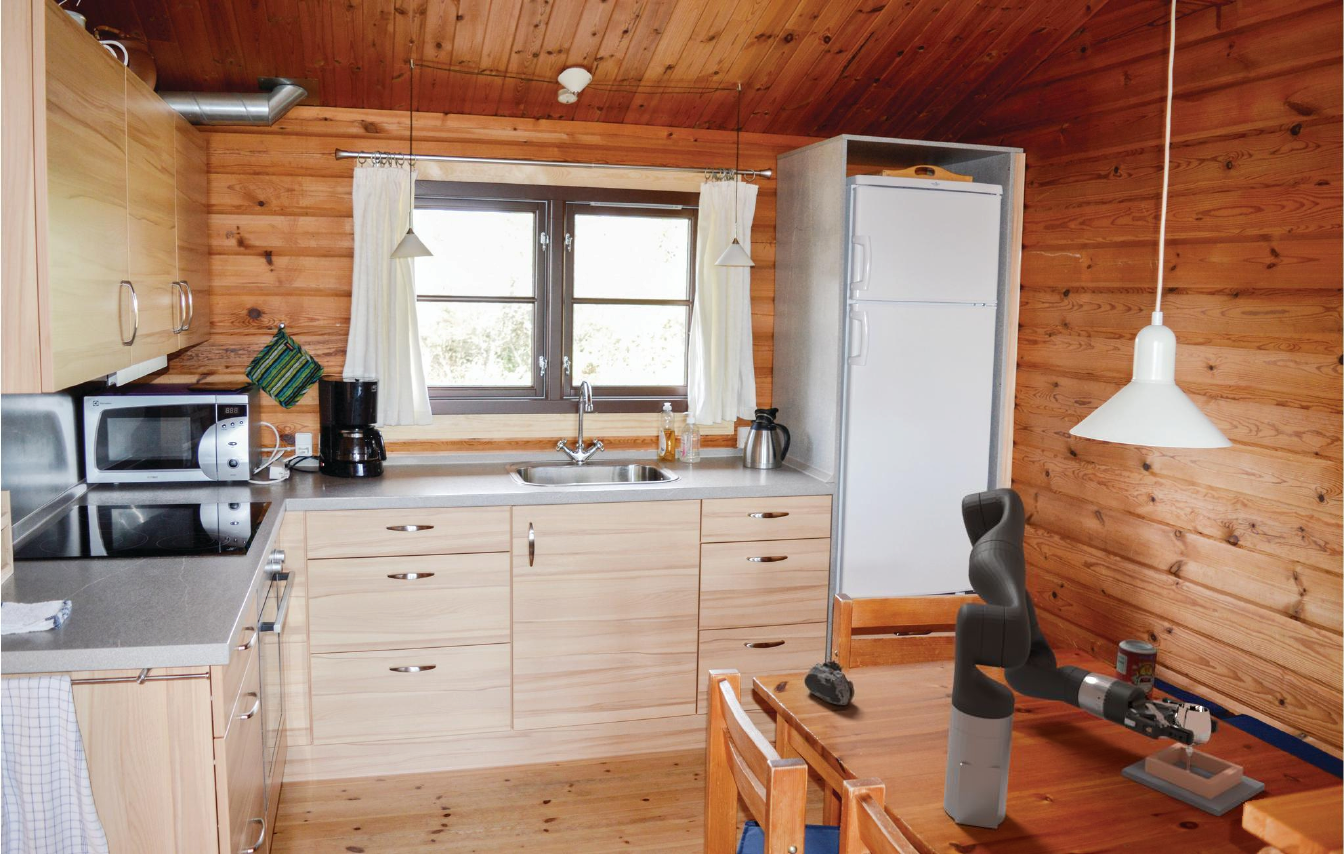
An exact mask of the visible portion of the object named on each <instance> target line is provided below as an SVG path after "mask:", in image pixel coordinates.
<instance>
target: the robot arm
mask: <svg viewBox="0 0 1344 854" xmlns="http://www.w3.org/2000/svg"><path fill="white" fill-rule="evenodd" d="M1025 512H1026V510H1025V505H1024V502H1023V500H1022V497H1021V496H1020V494H1019V493H1018V492H1017V491H1016V490H1015V489H1013V488H1009V487H1001V488H995V489H991V490H985V491H980V492H975V493H970V494H967V495H965V496H964V497H963V498H962V499H961V517H962V520H963V525H964V527H965V531H966V533H967V536H968V540H969V541H970V545H971V547H972V549H971V551H970V554H969V558H968V573H967V574H968V581H969V584H970V585H971V588H972V589H973V592H975V593H976V594H977V596H978V597H979V598H980V599H981V600H982V601H983V602H984V603H976V602H964V603H963V604H961V605H960V606H959V609H958V610H957V614H956V620H955V628H954V629H955V630H954V634H955V635H954V637H955V638H954V672H953V683H952V685H953V686H952V693H951V702H950V703H951V704H950V717H949V728H948V730H949V731H948V741H947V742H948V743H947V755H946V756H947V757H946V765H945V768H946V769H945V778H944V779H945V780H944V781H945V782H944V794H943V795H944V796H943V809H944V811H945V812H946V813H947V814H948V816H950V817H951V818H953V819H954V822H955V823H956V824H961V825H968V826H969V825H970V826H973V827H974V826H975V827H982V828H990V829H998V825H1000V824H1001V823H1002V822H1004V820H1005V817H1006V810H1007V809H1006V807H1007V798H1008V785H1009V783H1008V782H1009V773H1010V772H1009V771H1010V761H1011V750H1012V749H1011V747H1012V737H1013V736H1012V735H1013V728H1014V727H1013V726H1014V718H1015V717H1014V715H1015V714H1014V713H1015V704H1016V699H1015V694H1014V692H1013V691H1015V692H1017V693H1018V694H1020V695H1022V696H1025V697H1029V698H1033V699H1039V700H1046V701H1056V702H1062V703H1066V704H1068V705H1070V706H1073V707H1076V708H1078V709H1081V710H1083V711H1086V712H1087V713H1088V714H1091V715H1092V716H1096V717H1098V718H1100V719H1103V720H1105V721H1108V722H1111V723H1113V724H1117V725H1119V726H1121V727H1124V728H1125V729H1128V730H1130V731H1133V732H1135V733H1137V734H1139V735H1142V736H1145V737H1147V738H1150V739H1151V740H1156V741H1157V740H1159V738H1162V739H1170V740H1174V741H1176V742H1177V743H1181V744H1183V745H1186V746H1188V745H1191V744H1193V741H1194V733H1193V732H1191V731H1189V730H1186V729H1183V728H1180V727H1178V726H1175V725H1172V721H1173V716H1174V713H1175V710H1176V707H1177V705H1178V704H1179V703H1184V702H1183V701H1179V700H1177V699H1174V698H1170V697H1167V696H1162V697H1161V700H1155V699H1154V700H1153V699H1151V700H1149V699H1148V697H1147V695H1146V692H1145V690H1144V689H1143V688H1141V687H1138V686H1135V685H1133V684H1130V683H1127V682H1124V681H1121V680H1118V679H1115V678H1116V677H1112V676H1109V675H1106V674H1102V673H1096V672H1093V671H1090V670H1087V669H1085V668H1081V667H1078V666H1075V665H1069V664H1067V665H1062V666H1059V667H1058V662H1057V657H1056V655H1055V653H1054V651H1053V649H1052V647H1051V646H1050V644H1049V642H1048V641H1047V638H1046V637H1045V635H1044V633H1043V631H1042V630H1041V628H1040V625H1039V620H1038V616H1037V613H1036V609H1035V606H1034V602H1033V598H1032V597H1031V594H1030V592H1029V591H1028V590H1027V588H1026V579H1027V576H1026V575H1027V574H1026V570H1027V569H1026V560H1025V559H1026V557H1025V548H1024V539H1025V538H1024V537H1025V529H1026V513H1025ZM977 666H982V667H983V666H984V667H989V668H998V669H1003V676H1004V680H1005V682H1006V683H1007V685H1008V686H1009V687H1010V688H1009V687H1008V686H1006V685H1005V684H1003V683H1001V682H999V681H997V680H995V679H993V678H992V677H990V676H988V675H987V674H985V673H984V672H983V671H981V670H980V669H979V668H978V667H977ZM1011 689H1012V690H1011ZM1210 720H1211V734H1215V733H1217V732H1218V730H1219V721H1218V720H1217V719H1215V718H1211V717H1210ZM1148 730H1149V731H1148Z"/></svg>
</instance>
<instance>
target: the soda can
mask: <svg viewBox="0 0 1344 854" xmlns="http://www.w3.org/2000/svg"><path fill="white" fill-rule="evenodd" d="M1157 656H1158V650H1157V648H1156V647H1155V646H1153V644H1151V643H1148V642H1146V641H1144V640H1139V639H1132V638H1131V639H1125V640H1122V641H1120V643H1119V644H1118V651H1117V661H1116V670H1115V677H1114V678H1115V679H1118V680H1121V681H1124V682H1127V683H1130V684H1133V685H1135V686H1138V687H1141V688H1143V689H1144V690H1145V692H1146V695H1147V697H1148V699H1149V700H1153V696H1154V695H1153V694H1154V683H1155V675H1156V667H1157V666H1156V665H1157Z"/></svg>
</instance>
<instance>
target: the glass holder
mask: <svg viewBox="0 0 1344 854" xmlns="http://www.w3.org/2000/svg"><path fill="white" fill-rule="evenodd" d="M1187 747H1188V745H1186V744H1183V743H1181V742H1176V743H1174V744H1173V745H1170V746H1167V747H1166V748H1164V749H1161V750H1159V751H1157V752H1155V753H1152V754H1151V755H1149V756H1147V757H1145V758H1143V759H1141V760H1139V761H1136V762H1134V763H1133V764H1130V765H1128V766H1127V767H1124V768H1122V769H1121V776H1122V777H1125V778H1128V779H1130V780H1132V781H1134V782H1138V784H1142V785H1144V786H1147V787H1148V788H1151V789H1154V790H1156V791H1158V792H1160V793H1163V794H1164V795H1167V796H1170V797H1172V798H1175V799H1176V800H1179V801H1181V802H1183V803H1186V804H1188V805H1190V806H1193V807H1195V808H1198V809H1199V810H1202V811H1205V812H1207V813H1209V814H1211V815H1213V816H1217V817H1221V816H1222V815H1224V814H1225V813H1227V812H1229V811H1230V810H1233V809H1234V808H1235V807H1237V806H1239V805H1241V804H1242V803H1244V802H1246V801H1247V800H1249V799H1251V798H1252V797H1254V796H1256V795H1257V794H1260V793H1261V792H1262V791H1264V790H1265V788H1266V787H1265V786H1266V784H1265V783H1264V782H1260V781H1259V780H1256V779H1253V778H1250V777H1248V776H1246V775H1243V774H1244V767H1243V766H1240V765H1238V764H1236V763H1233V762H1230V761H1228V760H1225V759H1222V758H1220V757H1217V756H1214V755H1211V754H1209V753H1206V752H1204V751H1201V750H1200V749H1196V748H1193V747H1192V749H1193V753H1192V755H1191V758H1190V772H1188V771H1185V770H1186V766H1187V754H1186V748H1187ZM1241 802H1242V803H1241Z"/></svg>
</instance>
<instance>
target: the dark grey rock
mask: <svg viewBox="0 0 1344 854" xmlns="http://www.w3.org/2000/svg"><path fill="white" fill-rule="evenodd" d="M843 668H844V665H842V666H841V665H840V664H839V663H838V662H836V661H835V660H832V661H830V660H828V661H826V662H823V663H822V664H821V663H819V662H818V663H815V664H814V665H813V666H812V667H811V668H810V669H809V671H808V672H807V674H806V676H805V677H804V685H805V687H806V688H807V689H808V691H809V693H811V694H813V696H816V697H818V698H820V699H821V700H823V701H824V702H826V703H829V704H833V705H838V706H840V705H841V706H845V705H847V704H848V703H849V702H851V701H853V699H854V697H855V688H854V683H853V681H852V680H848V679H847V676H846V675H845V673H843V672H842V669H843Z"/></svg>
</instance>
